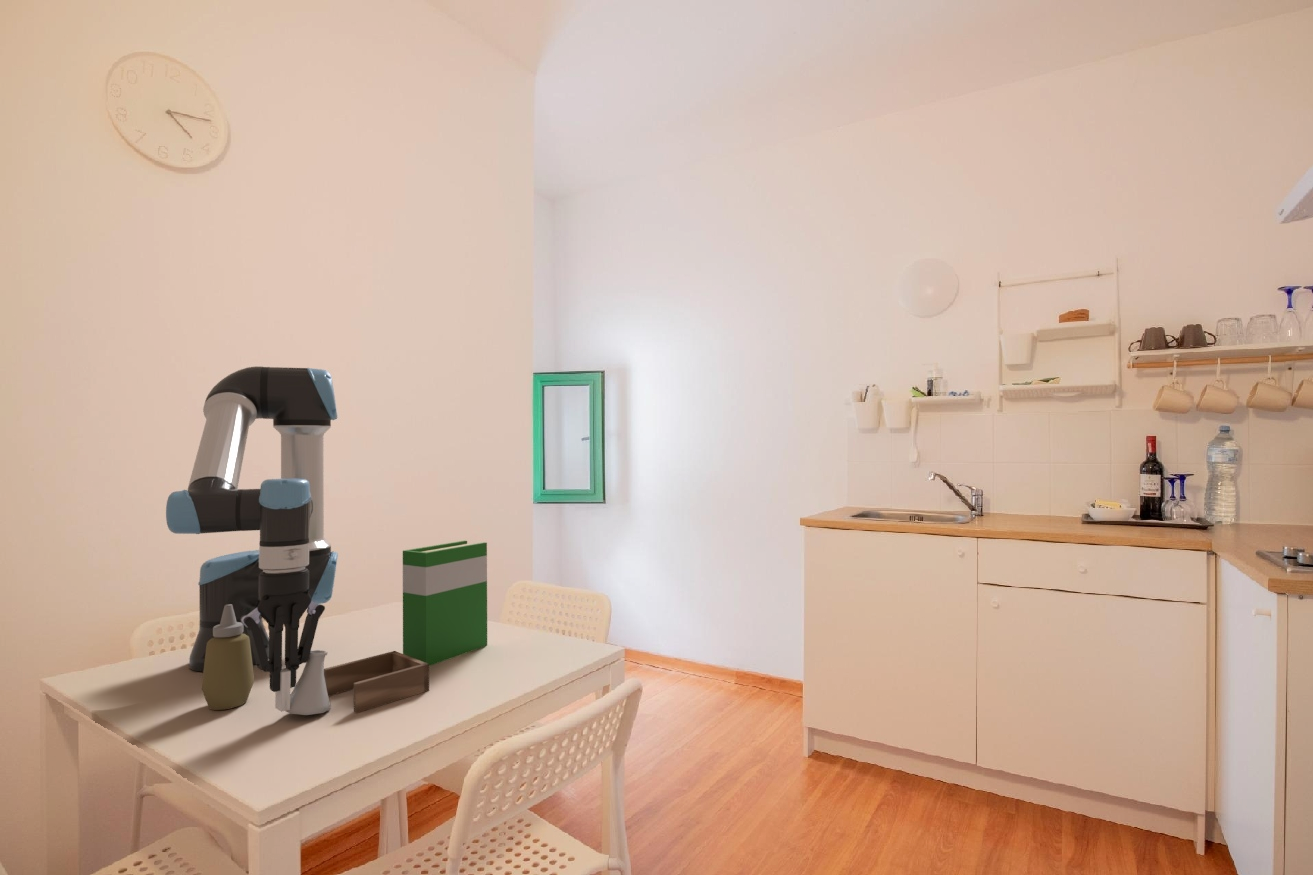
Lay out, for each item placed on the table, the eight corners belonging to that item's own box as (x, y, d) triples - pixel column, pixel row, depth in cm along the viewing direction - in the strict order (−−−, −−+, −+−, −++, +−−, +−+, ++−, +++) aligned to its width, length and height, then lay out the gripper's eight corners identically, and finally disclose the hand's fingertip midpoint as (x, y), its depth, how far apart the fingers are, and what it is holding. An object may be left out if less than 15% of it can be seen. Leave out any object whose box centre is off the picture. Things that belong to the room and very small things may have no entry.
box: (323, 695, 124) (323, 668, 124) (394, 675, 135) (394, 650, 135) (356, 713, 116) (356, 684, 116) (429, 690, 126) (429, 663, 126)
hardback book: (464, 640, 159) (464, 540, 159) (487, 645, 155) (486, 542, 155) (402, 661, 144) (402, 550, 144) (426, 667, 140) (425, 553, 140)
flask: (306, 718, 111) (317, 656, 112) (272, 711, 113) (284, 650, 115) (338, 710, 118) (348, 652, 119) (306, 703, 120) (316, 646, 121)
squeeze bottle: (214, 717, 115) (215, 612, 115) (192, 707, 119) (192, 607, 119) (263, 701, 121) (263, 603, 122) (240, 693, 126) (240, 598, 126)
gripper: (249, 577, 106) (247, 726, 105) (332, 566, 116) (331, 703, 115) (233, 571, 111) (231, 714, 110) (314, 562, 121) (313, 692, 120)
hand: (282, 708), depth 113 cm, fingers closed
